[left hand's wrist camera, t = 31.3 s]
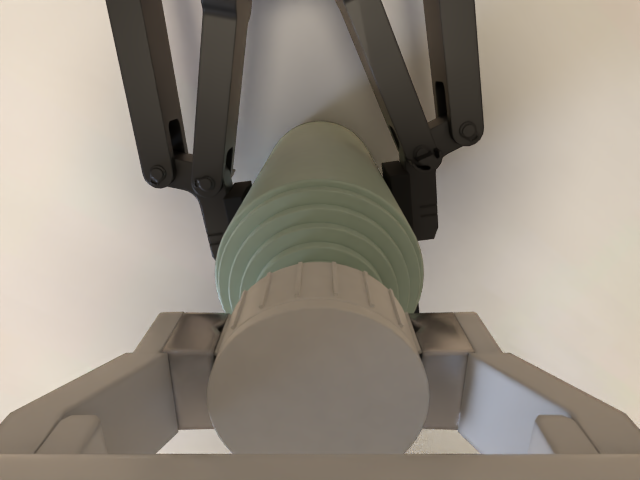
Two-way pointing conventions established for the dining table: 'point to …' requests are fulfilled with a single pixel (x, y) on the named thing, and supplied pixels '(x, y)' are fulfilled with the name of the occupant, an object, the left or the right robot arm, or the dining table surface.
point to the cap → (318, 367)
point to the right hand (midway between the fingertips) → (334, 311)
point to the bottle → (319, 218)
